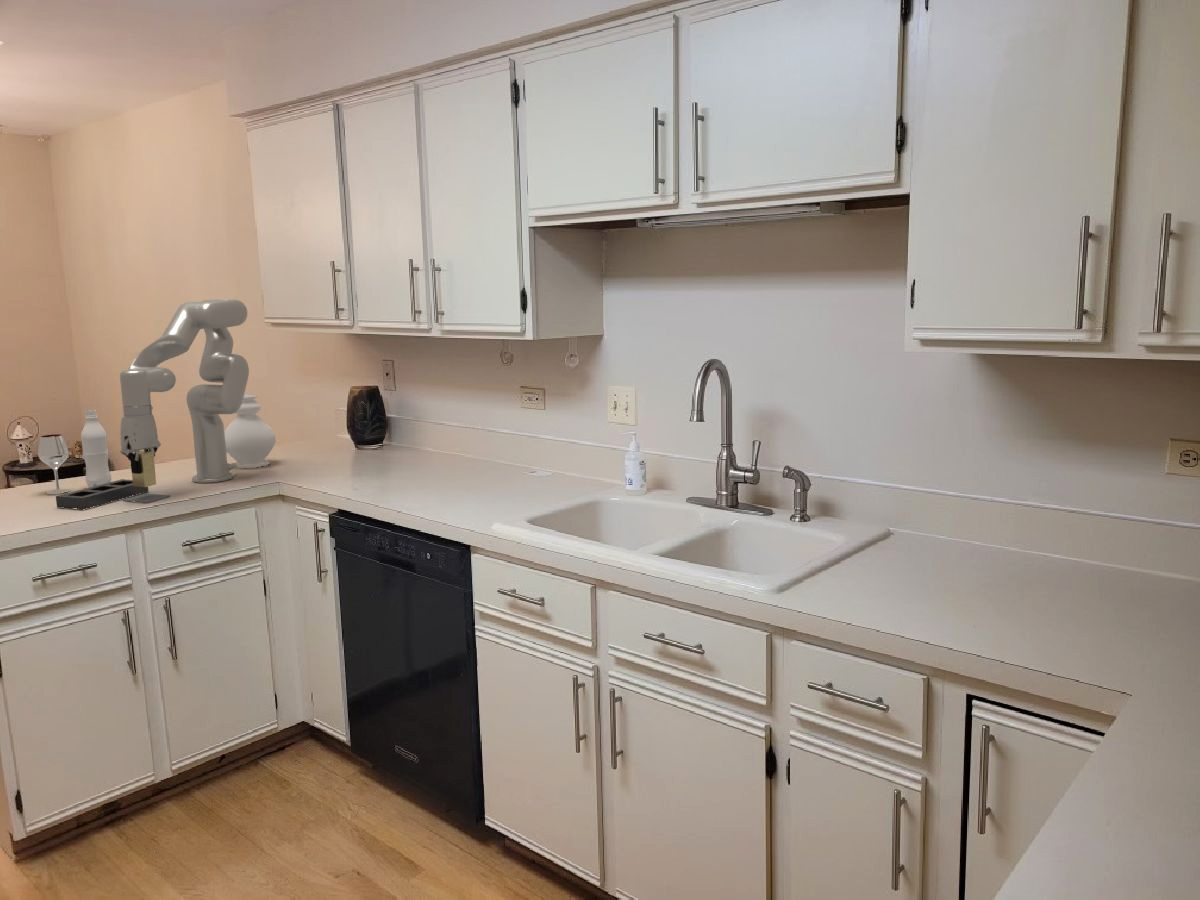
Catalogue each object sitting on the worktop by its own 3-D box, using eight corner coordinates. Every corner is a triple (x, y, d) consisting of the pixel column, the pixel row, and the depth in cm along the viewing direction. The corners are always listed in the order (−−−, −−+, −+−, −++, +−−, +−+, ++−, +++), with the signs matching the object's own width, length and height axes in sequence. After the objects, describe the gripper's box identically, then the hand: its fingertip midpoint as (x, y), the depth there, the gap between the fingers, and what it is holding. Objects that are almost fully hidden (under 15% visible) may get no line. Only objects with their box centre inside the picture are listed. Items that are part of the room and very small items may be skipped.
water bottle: (101, 490, 281) (92, 412, 276) (81, 489, 282) (72, 411, 278) (117, 485, 288) (109, 409, 283) (98, 484, 289) (89, 408, 285)
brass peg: (144, 483, 270) (141, 451, 268) (156, 484, 269) (153, 451, 267) (133, 486, 266) (129, 453, 264) (144, 487, 265) (141, 454, 263)
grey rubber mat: (146, 494, 274) (146, 493, 274) (170, 496, 271) (169, 495, 271) (122, 501, 265) (122, 499, 265) (147, 503, 263) (147, 501, 263)
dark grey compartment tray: (123, 490, 281) (122, 479, 280) (148, 491, 278) (147, 481, 277) (57, 507, 258) (55, 496, 258) (84, 510, 255) (82, 498, 255)
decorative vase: (255, 471, 308) (249, 399, 304) (213, 468, 314) (206, 398, 309) (287, 461, 325) (282, 393, 321) (247, 459, 331) (241, 392, 326)
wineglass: (46, 490, 281) (39, 434, 278) (75, 488, 284) (69, 433, 280) (40, 496, 273) (33, 438, 270) (70, 494, 276) (63, 436, 273)
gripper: (149, 407, 273) (154, 466, 276) (104, 414, 257) (110, 476, 260) (169, 408, 270) (174, 467, 274) (124, 415, 255) (131, 477, 258)
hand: (143, 471), depth 267 cm, fingers closed on brass peg, 4 cm apart
